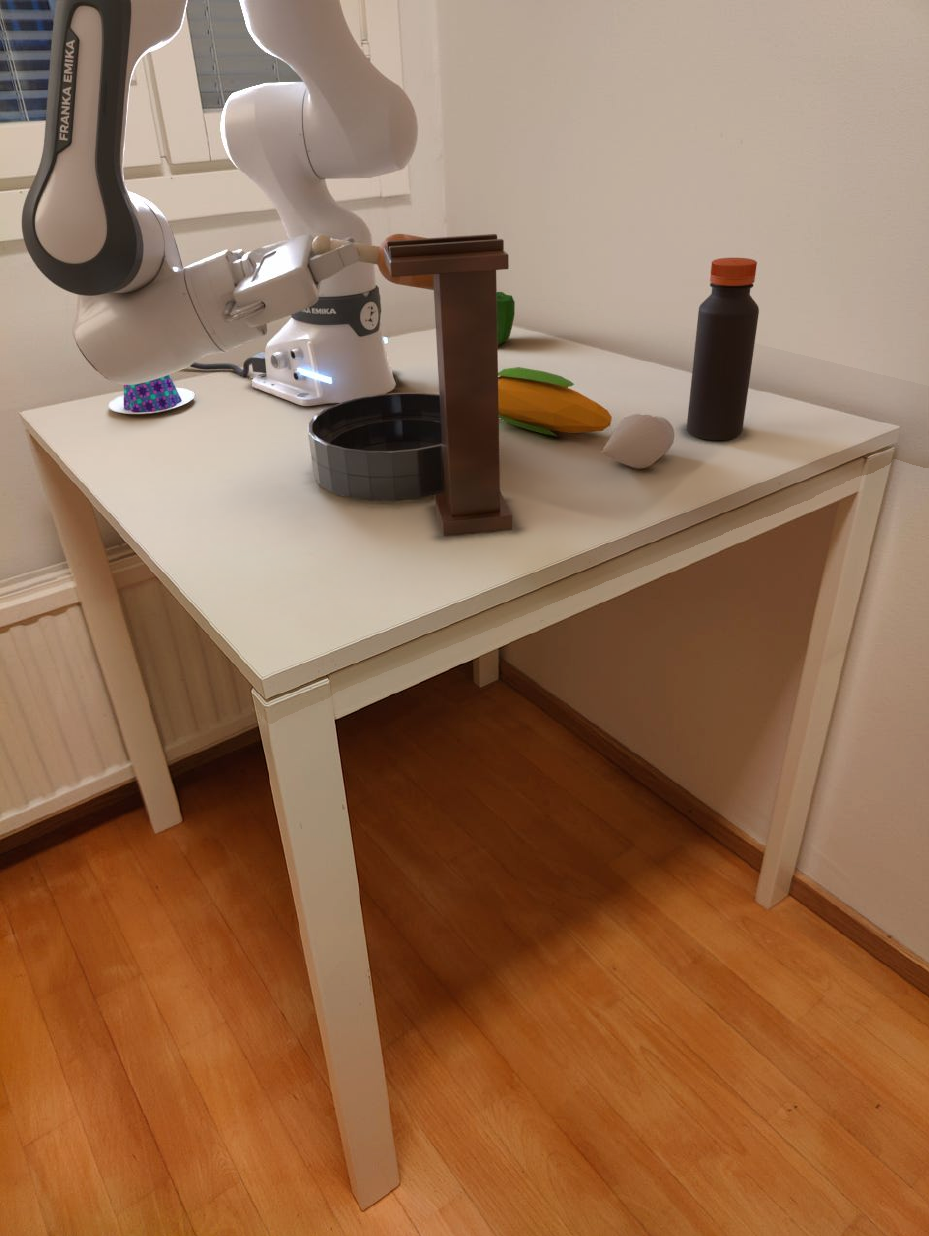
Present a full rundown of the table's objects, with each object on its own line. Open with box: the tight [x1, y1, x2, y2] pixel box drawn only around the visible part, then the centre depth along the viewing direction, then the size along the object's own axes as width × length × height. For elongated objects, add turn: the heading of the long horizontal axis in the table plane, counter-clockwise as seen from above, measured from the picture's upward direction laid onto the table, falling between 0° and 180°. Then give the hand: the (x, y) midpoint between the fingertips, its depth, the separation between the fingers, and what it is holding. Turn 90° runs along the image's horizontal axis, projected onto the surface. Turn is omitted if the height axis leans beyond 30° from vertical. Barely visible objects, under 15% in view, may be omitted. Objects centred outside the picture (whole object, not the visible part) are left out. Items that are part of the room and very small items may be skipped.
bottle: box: [686, 257, 760, 441], centre depth 103 cm, size 7×7×20 cm
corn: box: [498, 366, 613, 437], centre depth 109 cm, size 7×8×20 cm
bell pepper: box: [497, 291, 516, 346], centre depth 145 cm, size 8×8×10 cm
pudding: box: [108, 374, 195, 415], centre depth 124 cm, size 12×12×5 cm
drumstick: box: [312, 233, 434, 291], centre depth 88 cm, size 15×5×5 cm, turn 96°
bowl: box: [307, 392, 445, 502], centre depth 100 cm, size 20×20×6 cm
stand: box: [384, 233, 513, 537], centre depth 82 cm, size 10×8×27 cm
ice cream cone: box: [600, 413, 675, 470], centre depth 97 cm, size 6×6×15 cm
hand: (357, 247), depth 87 cm, fingers closed on drumstick
